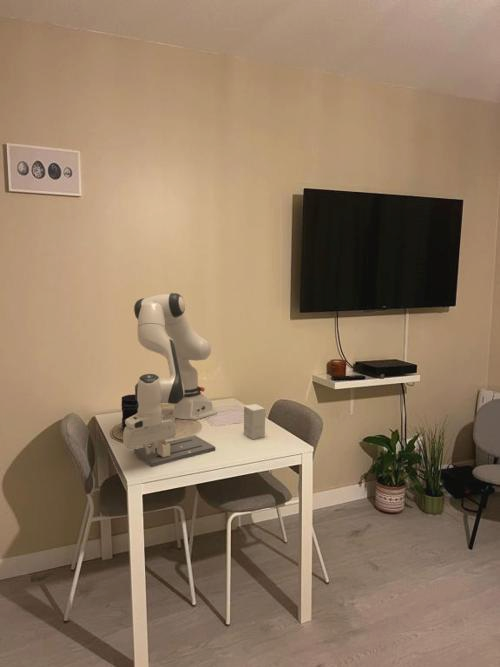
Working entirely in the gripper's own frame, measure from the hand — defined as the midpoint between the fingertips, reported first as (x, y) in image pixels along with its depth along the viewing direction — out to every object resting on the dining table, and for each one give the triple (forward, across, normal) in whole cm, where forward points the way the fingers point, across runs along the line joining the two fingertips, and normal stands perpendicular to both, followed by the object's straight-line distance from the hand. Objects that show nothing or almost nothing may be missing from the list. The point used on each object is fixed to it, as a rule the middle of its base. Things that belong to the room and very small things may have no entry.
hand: (150, 453), depth 188 cm
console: (+4, -12, -4) cm, 13 cm away
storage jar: (+4, -9, -37) cm, 39 cm away
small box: (+4, -49, 0) cm, 50 cm away
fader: (+2, -5, 0) cm, 6 cm away
